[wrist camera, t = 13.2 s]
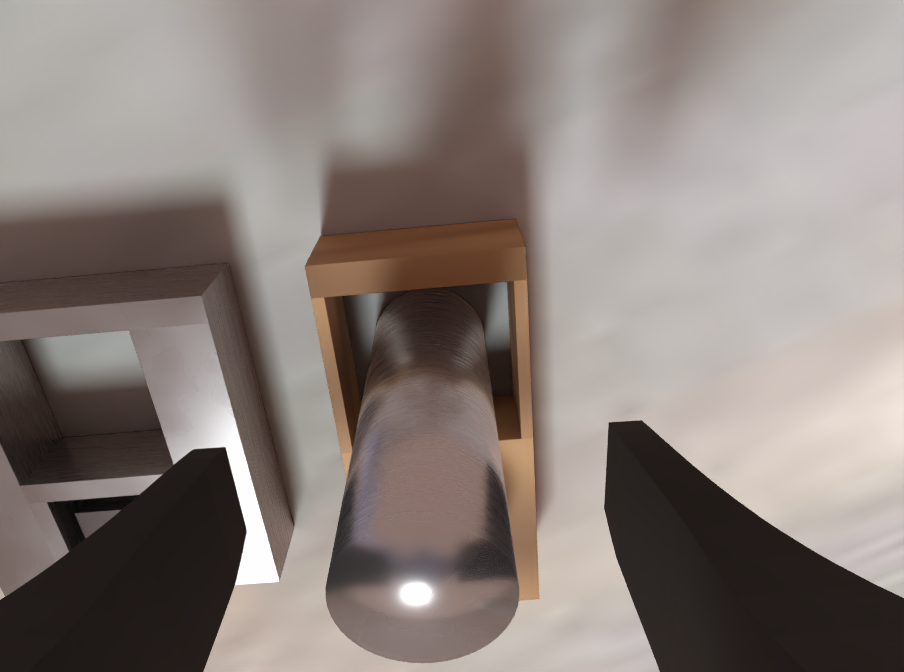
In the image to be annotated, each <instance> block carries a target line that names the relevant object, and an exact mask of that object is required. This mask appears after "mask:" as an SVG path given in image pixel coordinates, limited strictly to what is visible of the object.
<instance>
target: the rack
mask: <svg viewBox="0 0 904 672" xmlns="http://www.w3.org/2000/svg"><path fill="white" fill-rule="evenodd" d="M305 269H306V275H307V280H308V285H309V290H310V295H311V300H312V305H313V311H314V316H315V321H316V326H317V331H318V336H319V341H320V346H321V352H322V357H323V362H324V367H325V372H326V377H327V382H328V388H329V393H330V398H331V403H332V408H333V413H334V418H335V423H336V429H337V434H338V439H339V444H340V449H341V454H342V459H343V465H344V470H345V475H346V480H347V476H348V470H349V465H350V460H351V455H352V450H353V445H354V440H355V434H356V429H357V424H358V419H359V414H360V409H361V401H360V395H359V389H358V384H357V378H356V372H355V366H354V360H353V354H352V349H351V343H350V337H349V331H348V325H347V320H346V314H345V308H344V302H343V296H346V295H358V294H369V293H381V292H393V291H404V290H416V289H427V288H439V287H450V286H462V285H473V284H485V283H496V282H507V290H508V309H509V328H510V347H511V366H512V385H513V395H503V396H493V403H494V410H495V417H496V425H497V432H498V439H499V446H500V453H501V461H502V468H503V475H504V482H505V489H506V496H507V504H508V511H509V518H510V525H511V532H512V540H513V547H514V554H515V561H516V568H517V576H518V583H519V601H520V600H533V599H539V579H538V553H537V527H536V501H535V475H534V449H533V423H532V397H531V371H530V345H529V319H528V293H527V267H526V246H525V243H524V241H523V238H522V235H521V232H520V230H519V227H518V224H517V221H516V219H508V220H497V221H486V222H474V223H463V224H452V225H440V226H429V227H418V228H407V229H395V230H384V231H373V232H361V233H350V234H339V235H328V236H320V238H319V240H318V242H317V244H316V245H315V247H314V249H313V251H312V253H311V255H310V257H309V259H308V261H307V263H306V265H305Z"/></svg>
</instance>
